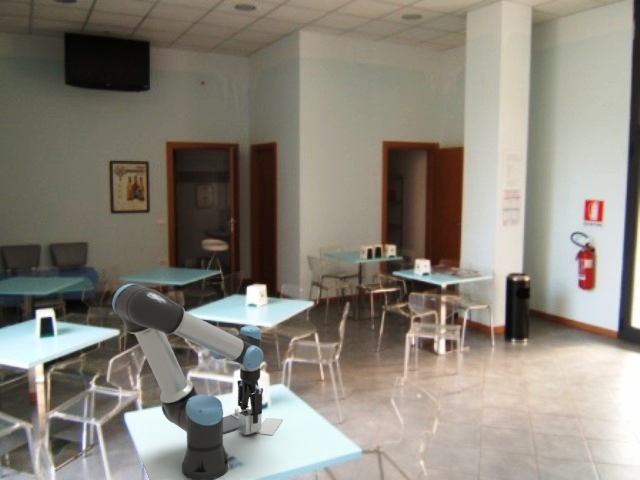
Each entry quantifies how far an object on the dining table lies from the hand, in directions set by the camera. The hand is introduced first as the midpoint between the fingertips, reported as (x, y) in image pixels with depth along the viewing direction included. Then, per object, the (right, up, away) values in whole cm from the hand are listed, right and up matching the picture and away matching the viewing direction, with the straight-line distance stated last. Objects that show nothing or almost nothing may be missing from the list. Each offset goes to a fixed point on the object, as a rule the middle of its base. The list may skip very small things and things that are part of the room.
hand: (249, 428), depth 219 cm
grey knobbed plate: (-10, -1, +8) cm, 12 cm away
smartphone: (+7, -2, +7) cm, 10 cm away
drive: (0, -1, 0) cm, 1 cm away
